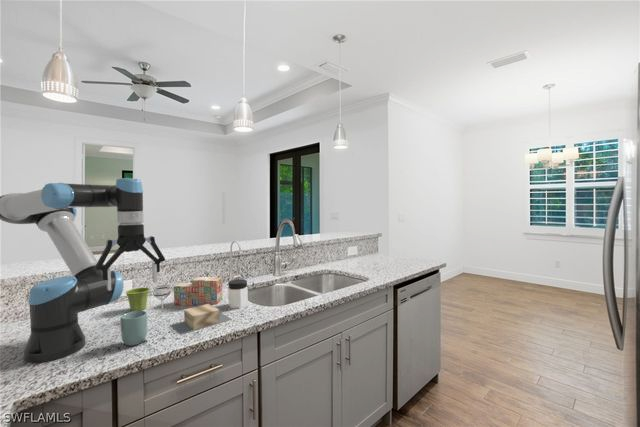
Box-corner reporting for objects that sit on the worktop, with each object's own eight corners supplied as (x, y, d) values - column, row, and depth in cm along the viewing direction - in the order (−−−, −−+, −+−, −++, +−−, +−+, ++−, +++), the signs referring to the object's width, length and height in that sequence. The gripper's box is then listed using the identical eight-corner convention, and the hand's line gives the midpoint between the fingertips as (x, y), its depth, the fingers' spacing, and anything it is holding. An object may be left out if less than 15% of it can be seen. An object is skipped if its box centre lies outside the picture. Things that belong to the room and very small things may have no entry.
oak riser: (193, 329, 112) (193, 316, 111) (184, 322, 119) (184, 309, 119) (219, 322, 118) (219, 309, 118) (209, 315, 126) (208, 303, 126)
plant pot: (121, 311, 134) (120, 292, 133) (139, 304, 143) (138, 286, 142) (137, 313, 131) (136, 294, 131) (154, 306, 140) (154, 288, 140)
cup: (142, 335, 109) (141, 308, 109) (151, 342, 104) (150, 313, 104) (117, 343, 103) (116, 315, 103) (126, 350, 98) (125, 320, 98)
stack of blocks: (173, 305, 142) (173, 279, 141) (181, 301, 148) (180, 276, 147) (217, 306, 140) (216, 280, 139) (222, 302, 146) (222, 277, 145)
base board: (180, 337, 108) (180, 334, 107) (170, 327, 116) (170, 325, 116) (232, 321, 121) (232, 319, 121) (219, 313, 130) (219, 311, 130)
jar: (249, 308, 136) (249, 282, 136) (231, 311, 132) (231, 285, 132) (244, 302, 144) (244, 278, 144) (227, 305, 140) (226, 280, 140)
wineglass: (171, 310, 134) (171, 284, 134) (170, 315, 128) (169, 288, 128) (154, 312, 132) (153, 286, 131) (152, 318, 126) (151, 290, 125)
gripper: (86, 226, 91) (89, 296, 92) (173, 222, 108) (175, 280, 109) (83, 225, 96) (86, 290, 97) (166, 221, 113) (168, 277, 114)
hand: (133, 285), depth 103 cm, fingers open, 13 cm apart
